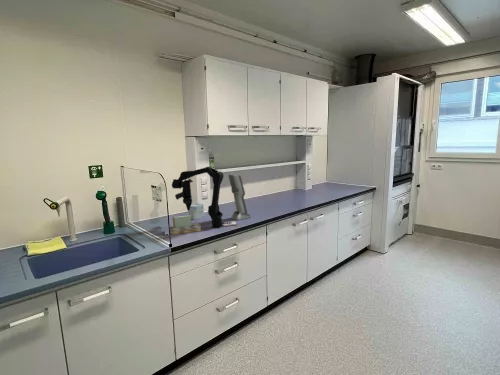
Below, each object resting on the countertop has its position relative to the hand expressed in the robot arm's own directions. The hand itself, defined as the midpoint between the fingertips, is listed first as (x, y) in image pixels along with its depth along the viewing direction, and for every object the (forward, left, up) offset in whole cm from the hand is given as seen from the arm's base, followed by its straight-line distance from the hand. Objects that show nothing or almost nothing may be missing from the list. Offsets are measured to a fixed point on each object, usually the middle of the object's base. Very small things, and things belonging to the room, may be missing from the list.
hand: (188, 209), depth 196 cm
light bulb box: (+8, -19, -12) cm, 24 cm away
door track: (-5, +13, -12) cm, 18 cm away
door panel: (-5, +13, -10) cm, 17 cm away
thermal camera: (-27, -30, -12) cm, 42 cm away
